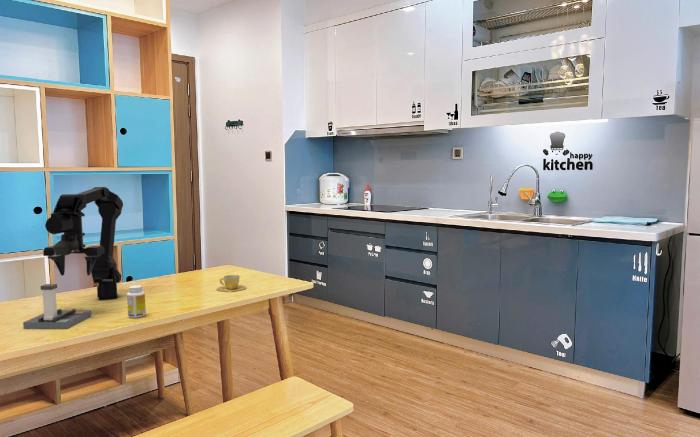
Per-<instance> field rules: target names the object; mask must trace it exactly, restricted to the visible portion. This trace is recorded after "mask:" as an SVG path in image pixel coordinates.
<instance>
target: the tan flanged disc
mask: <svg viewBox="0 0 700 437" xmlns="http://www.w3.org/2000/svg"><path fill="white" fill-rule="evenodd" d="M222 281H223V282H222ZM219 284H220V285H222V286H219V287H217V288H216V290H217V291H219V292H223V293H224V292H226V293H229V292H231V293H232V292H239V291H244V290H245V289H247V286H245V285H242V284H240V275H239V274H229V275H224V276H223V277H221V278H220V279H219Z"/></svg>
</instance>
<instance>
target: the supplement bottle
mask: <svg viewBox="0 0 700 437" xmlns="http://www.w3.org/2000/svg"><path fill="white" fill-rule="evenodd" d="M126 300H127V315H128V318H131V319H138V318H143V317H145V316H146V313H147V311H146V293H145V291H144V290H143V286H142V285H140V284H138V285H137V284H136V285H135V284H134V285H131V286H129V287H128V292H127V293H126Z"/></svg>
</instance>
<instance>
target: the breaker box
mask: <svg viewBox="0 0 700 437" xmlns="http://www.w3.org/2000/svg"><path fill="white" fill-rule="evenodd" d="M57 315H58V316H57V317H55V318H53V320H44V312H43V313H41V314H39V315H37V316H34V317H32V318H30V319H27V320H26V321H24V322H23V323H22V325H23V329H26V330H27V329H28V330H31V329H32V330H33V329H36V330H41V329H42V330H48V329H49V330H50V329H52V330H59V329H60V330H67V329H70V328H71V327H74V326H75V324H76V325H77V324H79V323H81V322H83V321H85V320H87V319H89V318H91V317H92V310H89V309H88V310H86V309H84V310H83V309H82V310H81V309H76V308H73V309H70V310H69V309H67V310H66V309H62V308H57Z"/></svg>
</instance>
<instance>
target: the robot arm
mask: <svg viewBox="0 0 700 437" xmlns="http://www.w3.org/2000/svg"><path fill="white" fill-rule="evenodd" d="M93 202H94V204H95V205H96V206H97V208H98V211H97V212H98V214H99V215H100V217H101V229H100V239H99V245H90V246H86V244H85V243H84V237H85V236H86V233H85V232H84V231H83V220H82V219H83V218H82V217H85V216H86V214H85V213H84V212H82V211H83V210H84V209H86V208H87V204H90V203H93ZM123 206H124V203H123V200H122V198H120V196H119V195H118V194H117V193H115V192H113V191H110V189H109V188H108V187H107V186H95V187H92V188H90V189H88V190H85V191H82V192H78V193H65V194H60V196H59V198H58V200H57V202H56V204H55V207H54V209H53V212H51V213H50V217H49V218H47V220H46V221H45V223H44V224H45V226H44V227H45V229H46V231H47V232H48V233H49V234H51V235H58V234H61V236H60V240H59V241H57V242H56V243H55V244H53V245H51V246H46V247H44V249H43V250H42V253H43V254H42V255H43V257H47V259H49V260H51V261H53V262H54V264H55V266H56V268H57V270H58V272H59V275H60V276H65V271H66V270H65V269H66V256H69V255H70V254H84V255H85V256H84V260H85V262H86V276H87V277H89V276H91V277H92V280H93V283H94V284H98V285H97V287H96V291H97V296H96V297H97V298H98V300H99V301H100V300H101V301H102V300H111V299H112V300H114V299H118V297H119V295H118V283H120V282H121V281H122V277H123V276H122V273H120V271H119V270H118V266H117V262H116V260H115V259H114V258H115V257H114V247H115V246H114V244H115V235H116V224H117V219H118V218H119V217H120V216H121V214H122V211H123Z"/></svg>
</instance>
